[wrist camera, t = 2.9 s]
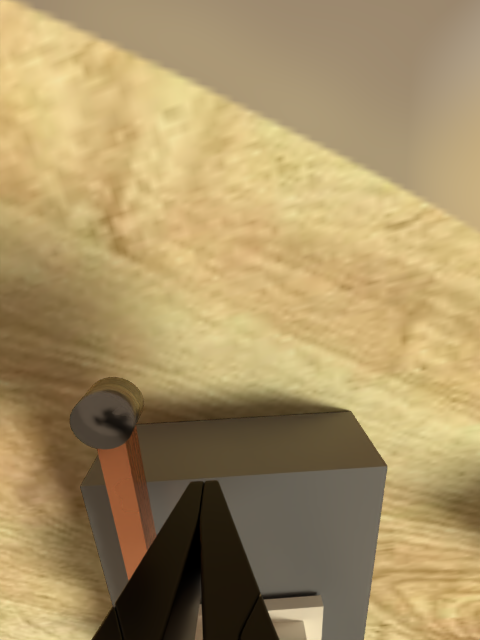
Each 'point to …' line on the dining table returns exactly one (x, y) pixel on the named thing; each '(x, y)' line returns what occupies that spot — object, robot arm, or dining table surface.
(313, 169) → the dining table surface
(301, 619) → the plug
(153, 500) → the grey socket base
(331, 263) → the dining table surface
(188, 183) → the dining table surface
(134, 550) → the copper link
